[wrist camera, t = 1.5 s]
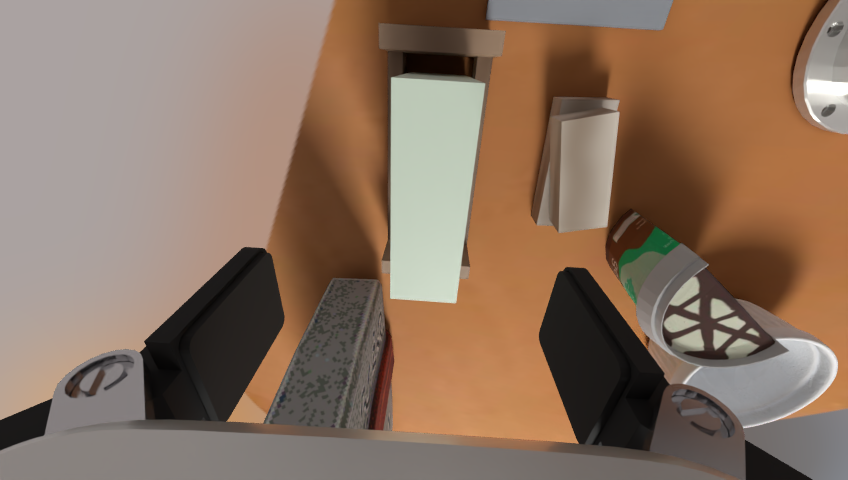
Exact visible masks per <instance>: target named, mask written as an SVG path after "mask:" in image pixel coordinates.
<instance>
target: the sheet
mask: <svg viewBox="0 0 848 480" xmlns="http://www.w3.org/2000/svg"><path fill="white" fill-rule="evenodd" d="M484 90H485V83H483V82H481V81H478V80H476V79H473V78H471V77H468V76H466V75H454V74H438V73H422V72H410V73H406V74H402V75H398V76H395V77H391V246H390V299H404V300H418V301H432V302H446V303H456V299H457V291H458V284H459V276H460V269H461V261H462V254H463V246H464V239H465V232H466V224H467V217H468V209H469V202H470V194H471V187H472V179H473V172H474V165H475V157H476V150H477V142H478V135H479V127H480V120H481V112H482V105H483V98H484Z"/></svg>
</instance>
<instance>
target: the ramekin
mask: <svg viewBox="0 0 848 480" xmlns="http://www.w3.org/2000/svg"><path fill="white" fill-rule="evenodd" d="M736 300H737V301H738V302H739V303H740V304H741V305H742V306H743V307H744V309H745V310H746V311H747V312H748V313H749V314H750V315H751V317H752V318H753V319H754V320H755V321H756V322H757V323H758V324H759V325H760V326H761V327H762V328H763V329H764V330H765V331H766V332H767V333H768V334H770V335H771V336H772V337H773V338H774V339H776V340H777V341H778V342H779V343H780V344H782V345H783V346H784V347H785V348H786V349H788V350H789V351H790V352H787V353H785V354H782V355H780V356H778V357H775V358H772V359H769V360H766V361H763V362H759V363H755V364H751V365H746V366H740V367H732V368H708V367H701V366H696V365H693V364H689V363H687V362H685V361H682V360H680V359H679V358H677V357H675V356H673V355H671V354H669V353H668V352H666V351H665V350H664V349H662V348H661V347H660V346H659V345H657V344H656V343H655V342H654V341H653V340H651V339H650V340H649V345H648V352H649V353H650V354H651V356H652V357H653V358H654V360H655V361H656V362H657V364H658V365H659V366H660V368H661V369H662V370H663V372H664V373H665V375H664V377H665V379H666V380H667V381H668V383H669V384H670V385H671V384H686V385H690V386H694V387H696V388H698V389H701V390H703V391H705V392H707V393H709V394H710V395H712V396H714V397H715V398H717V399H718V400H719V401H721V402H722V403H723V404H724V405H726V406H727V407H728V408H729V409H730V410H731V411H732V412H733V413H734V414H735V415H736V417H737V418H738V420H739V421H740V423H741V425H742V426H743V428H746V427H752V426H757V425H761V424H765V423H768V422H772V421H775V420H778V419H780V418H783V417H785V416H788V415H790V414H792V413H794V412H796V411H798V410H800V409H802V408H803V407H805V406H806V405H808V404H810V403H811V402H813V401H814V400H815V399H817V398H818V397H819V396H820V395H821V394H822V393H823V392H825V390H826V389H827V388H828V387H829V386H830V385H831V383H832V382H833V380H834V378H835V376H836V373H837V370H838V361H837V358H836V356H835V354H834V353H833V351H832V350H831V349H830V348H829V347H828V346H826V345H825V344H824V343H823V342H821V341H820V340H819V339H817V338H816V337H814V336H813V335H811V334H809V333H807V332H805V331H802V330H799V329H797V328H795V327H793V326H792V325H790V324H789V323H787V322H785V321H784V320H782V319H780V318H778V317H777V316H775V315H773V314H772V313H770V312H768V311H766V310H764V309H763V308H761V307H759V306H757V305H755V304H753V303H751V302H748V301H744V300H741V299H736Z"/></svg>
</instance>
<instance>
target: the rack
mask: <svg viewBox="0 0 848 480" xmlns="http://www.w3.org/2000/svg"><path fill="white" fill-rule="evenodd" d="M505 32H506V31H499V30H483V29H467V28H450V27H434V26H418V25H402V24H385V23H379V49H383V50H386V51H388V241H387V244H386V248H385V251H384V255H383V258H382V273H388V274H390V246H391V77H395V76H398V75H402V74H406V53H414V54H430V55H446V56H462V57H474V63H473V72H472V78H473V79H476V80H478V81H481V82H483V83H485V90H484V98H483V105H482V112H481V120H480V127H479V135H478V142H477V150H476V157H475V165H474V172H473V179H472V187H471V194H470V202H469V209H468V217H467V224H466V232H465V239H464V246H463V254H462V261H461V269H460V276H459V279H468V276H469V270H470V264H469V257H468V250H467V239H468V231H469V224H470V217H471V210H472V203H473V196H474V188H475V181H476V174H477V167H478V160H479V153H480V145H481V138H482V131H483V124H484V117H485V110H486V102H487V95H488V88H489V81H490V74H491V67H492V59H493V57H499V56H502V52H503V45H504V39H505Z"/></svg>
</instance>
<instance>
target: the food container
mask: <svg viewBox="0 0 848 480" xmlns="http://www.w3.org/2000/svg"><path fill="white" fill-rule="evenodd" d="M606 260H607V262H608V264H609V266H610V268H611V269H612V271H613V272H614V273H615V275H616V276H617V278H618V279H619V281H620V282H621V284H622V285H623V287H624V288H625V290H626V291H627V293H628V294H629V296H630V297H631V299H632V300H633V301H634V303H635V304H636V315H637V319H638V322H639V325H640V327H641V328H642V330H643V332H644V333H645V334H646V335H647V336H648V337H649V338H650V339H651V340H653V341H654V342H655V343H656V344H657V345H659V346H660V347H661V348H662V349H664V350H665V351H666V352H668V353H669V354H671V355H673V356H675V357H677V358H679V359H680V360H682V361H685V362H687V363H689V364H693V365H696V366H701V367H708V368H732V367H740V366H746V365H751V364H755V363H759V362H763V361H766V360H769V359H772V358H775V357H778V356H780V355H782V354H785V353H787V352H790V351H789V350H788V349H786V348H785V347H784V346H783V345H782V344H780V343H779V342H778V341H777V340H776V339H774V338H773V337H772V336H771V335H770V334H768V333H767V332H766V331H765V330H764V329H763V328H762V327H761V326H760V325H759V324H758V323H757V322H756V321H755V320H754V319H753V318H752V317H751V315H750V314H749V313H748V312H747V311H746V310H745V309H744V307H743V306H742V305H741V304H740V303H739V302H738V301H737V300H736V299H735V298H734V297H733V296H732V295H731V294H730V293H729V292H728V291H727V290H726V289H725V288H724V287H723V286H722V285H721V283H720V282H719V281H718V280H717V279H716V278H715V277H714V276H713V275H712V274H711V273H710V272H709V271H708V270H707V269H706V268H705V267H707V266H708V265H709V264H708V263H706V262H705V261H704V260H702V259H701V258H700V257H699V256H698V255H697V254H695V253H694V252H693V251H692V250H690V249H689V248H688V247H686V246H685V245H684V244H683V243H681V244H680V243H679V242H677V241H676V240H674V239H673V238H672V237H670V236H669V235H667V234H666V233H665V232H663V231H662V230H660V229H659V228H658V227H656V226H655V225H653V224H652V223H651V222H649V221H648V220H646V219H645V218H644V217H642V216H641V215H639V214H638V213H637V212H635V211H634V210H632V209H630V210H629V211H628V212H627V213H626V214H625V215H624V216H622V217H621V218H620V220H619V221H618V222H617V224H616V225H615V227H614V228H613V229H612V231H611V232H610V235H609V238H608V241H607V244H606Z"/></svg>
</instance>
